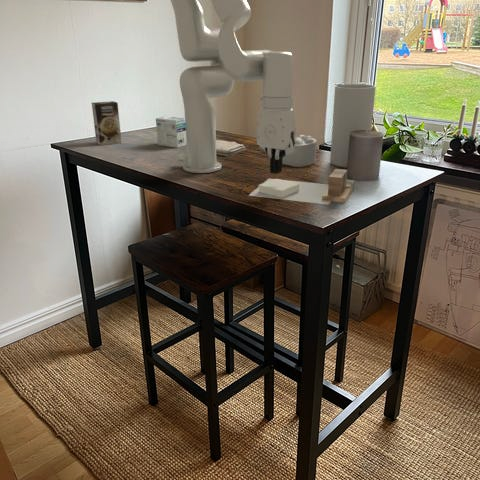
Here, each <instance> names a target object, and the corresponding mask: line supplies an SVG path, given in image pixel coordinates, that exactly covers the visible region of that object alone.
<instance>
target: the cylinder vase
mask: <svg viewBox="0 0 480 480" xmlns="http://www.w3.org/2000/svg"><path fill="white" fill-rule="evenodd" d="M376 87H377V86H376V85H373V84H365V83H362V84H360V83H348V84H346V83H345V84H344V83H343V84H336V85H334V96H333V97H334V99H333V111H332V112H333V113H332V126H331V127H332V128H331V142H330V143H331V144H330V159H329V160H330V164H332V166H336V167H338V168H344V169H345V168H346V169H347V160H348V150H349V138H350V132H352V131H356V130H366V129H367V130H372V129H373V128H372V127H373V117H374V107H375V98H376V97H375V96H376V89H377V88H376Z"/></svg>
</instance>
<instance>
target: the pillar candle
mask: <svg viewBox="0 0 480 480" xmlns="http://www.w3.org/2000/svg"><path fill="white" fill-rule="evenodd" d="M384 135H385V133H383V132H381V131H378V130H372V129H371V130H367V129H366V130H356V131H352V132H350V138H349V150H348V160H347V168H346V170H347V179H348V180H354V181H357V182H358V181H359V182H372V181H373V182H374V181H377V180H378V179H379V178H380V172H381V171H380V170H381V162H382V161H381V160H382V159H381V158H382V151H383V143H384Z"/></svg>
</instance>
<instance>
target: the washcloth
mask: <svg viewBox="0 0 480 480" xmlns="http://www.w3.org/2000/svg"><path fill="white" fill-rule="evenodd" d="M246 150H247V148H246V146H244V144H240V143H237V142H236V141H227V140H220V139H219V140H218V139H216V155H219V156H224V157H225V156H226V157H229V156H233V155H236V154H240V153H243V152H245V151H246Z"/></svg>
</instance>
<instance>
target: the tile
mask: <svg viewBox="0 0 480 480" xmlns="http://www.w3.org/2000/svg"><path fill="white" fill-rule="evenodd" d="M273 179H274V180H271V181H268V182H265V181H264V182H265V183H264V182H262V183H260V184H258V186H257V188H258V192H261V193H265V194H268V195H272V196H276V197H280V198H283V197H285V196H288V195H290V194H293V193H295V192H297V191H299V185H300V184H298V183H294V182H290V181H291V180H289V181H285V180H286V179H280V178H273Z"/></svg>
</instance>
